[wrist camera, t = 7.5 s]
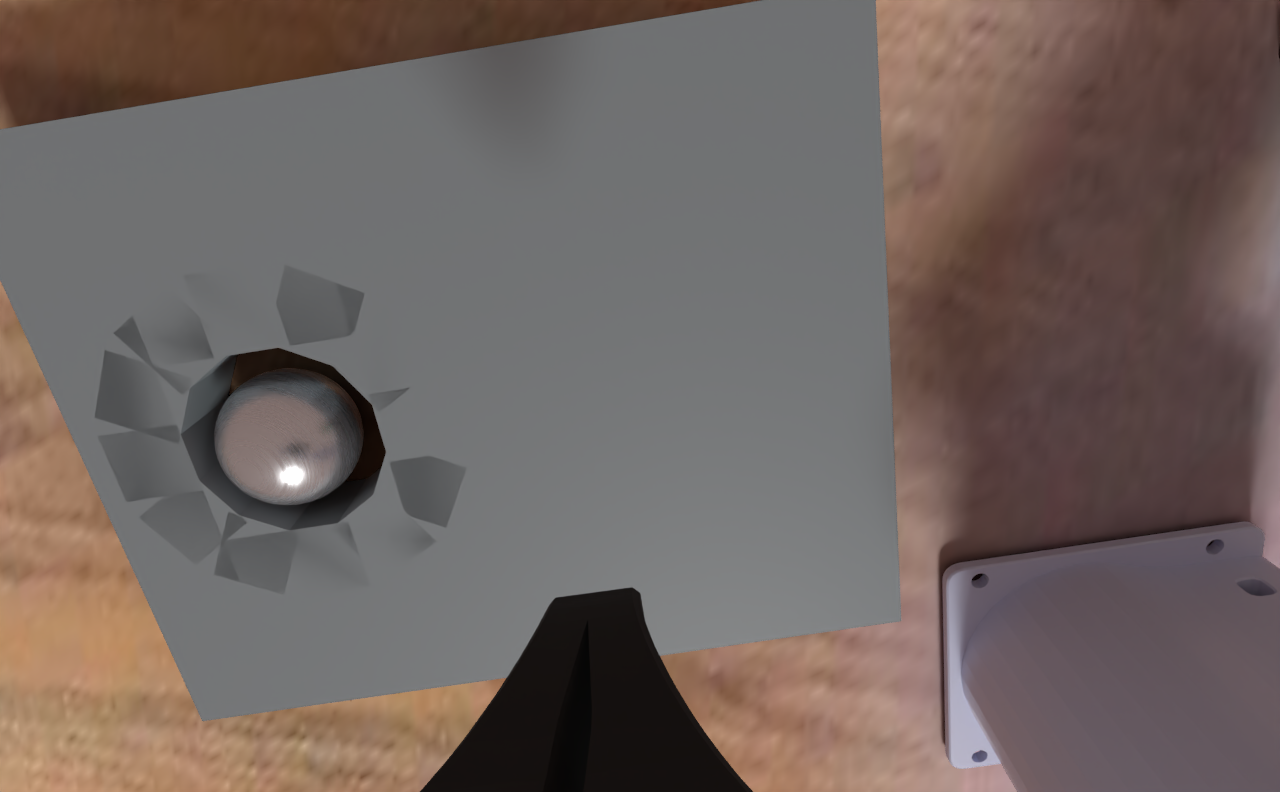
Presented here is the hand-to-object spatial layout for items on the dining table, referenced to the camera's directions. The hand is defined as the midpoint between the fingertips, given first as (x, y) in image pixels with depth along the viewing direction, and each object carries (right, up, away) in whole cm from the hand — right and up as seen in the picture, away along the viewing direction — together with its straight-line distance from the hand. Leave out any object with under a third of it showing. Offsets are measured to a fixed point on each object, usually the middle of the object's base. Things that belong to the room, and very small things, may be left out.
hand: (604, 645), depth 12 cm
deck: (-3, +4, +9) cm, 11 cm away
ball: (-8, +3, +8) cm, 12 cm away
